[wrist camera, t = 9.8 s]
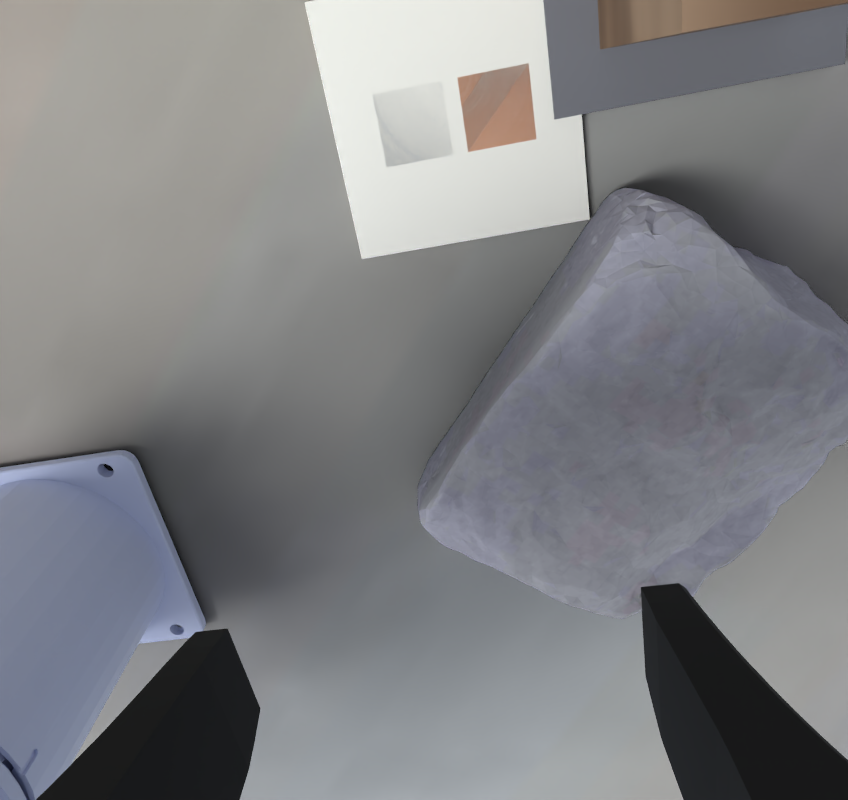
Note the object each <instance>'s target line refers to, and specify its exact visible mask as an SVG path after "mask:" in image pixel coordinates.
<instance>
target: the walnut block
mask: <svg viewBox="0 0 848 800" xmlns="http://www.w3.org/2000/svg"><path fill="white" fill-rule="evenodd" d="M843 4H848V0H598V19H599V40H600V49H606V48H611V47H617V46H622V45H628V44H633V43H639V42H644V41H649V40H655V39H660V38H666V37H671V36H677V35H682V34H688V33H693V32H698V31H704V30H709V29H715V28H720V27H726V26H731V25H737V24H742V23H747V22H753V21H758V20H764V19H769V18H775V17H780V16H786V15H791V14H796V13H802V12H807V11H812V10H817V9H822V8H828V7H833V6H838V5H843Z"/></svg>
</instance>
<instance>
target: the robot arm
mask: <svg viewBox="0 0 848 800" xmlns="http://www.w3.org/2000/svg"><path fill="white" fill-rule="evenodd" d="M103 464H107V465H109V466H111V467H112V469H113V471H109V470H108V469H106V468H105V467H104V465H103ZM641 601H642V619H643V637H644V654H645V672H646V679H647V683H648V687H649V691H650V695H651V699H652V703H653V707H654V711H655V715H656V719H657V723H658V727H659V731H660V735H661V738H662V741H663V744H664V747H665V750H666V752H667V755H668V758H669V761H670V763H671V766H672V769H673V772H674V775H675V777H676V780H677V783H678V786H679V788H680V791H681V794H682V797H683V799H684V800H848V760H847V759H846V758H845V757H844V756H843V755H841V754H840V753H839V752H838V751H837V750H836V749H835V748H834V747H833V746H832V745H830V744H829V743H828V742H827V741H826V740H825V739H824V738H823V737H822V736H821V735H820V734H819V733H818V732H817V731H816V730H815V729H813V728H812V727H811V726H810V725H809V724H808V723H807V722H806V721H805V720H804V719H803V718H802V717H801V716H800V715H799V714H798V713H797V712H796V711H795V710H794V709H793V708H792V707H791V706H790V705H789V704H788V703H787V702H786V701H785V700H784V699H783V698H782V697H781V696H780V695H779V694H778V693H777V692H776V691H775V690H774V689H773V688H772V687H771V686H770V685H769V684H768V683H767V682H766V681H765V680H764V679H763V678H762V676H761V675H760V674H759V673H758V672H757V671H756V670H755V669H754V668H753V667H752V666H751V665H750V664H749V663H748V662H747V661H746V660H745V658H744V657H743V656H742V655H741V654H740V653H739V652H738V651H737V650H736V648H735V647H734V646H733V645H732V644H731V643H730V642H729V640H728V639H727V638H726V637H725V636H724V635H723V634H722V632H721V631H720V630H719V629H718V628H717V627H716V625H715V624H714V623H713V622H712V621H711V619H710V618H709V617H708V616H707V615H706V613H705V612H704V611H703V610H702V608H701V607H700V606H699V605H698V603H697V602H696V601H695V600H694V598H693V597H692V596H691V594H690V593H689V592H688V590H687V589H686V588H685V587H684V586H682V585H681V584H679V583H675V584H665V585H655V586H645V587H641ZM175 624H176V625H180V626H182V627H178V626H176V625H175ZM205 625H206V621H205V618H204V616H203V613H202V611H201V608H200V606H199V604H198V601H197V599H196V597H195V594H194V592H193V589H192V587H191V585H190V582H189V580H188V578H187V575H186V573H185V570H184V568H183V566H182V563H181V561H180V559H179V556H178V554H177V551H176V549H175V547H174V544H173V542H172V540H171V537H170V535H169V532H168V530H167V528H166V525H165V523H164V521H163V518H162V516H161V513H160V511H159V509H158V506H157V504H156V502H155V499H154V497H153V494H152V492H151V490H150V487H149V485H148V483H147V480H146V478H145V475H144V473H143V471H142V468H141V466H140V464H139V461H138V460H137V458H136V457H135V456H134V455H133V454H132V453H130V452H128V451H125V450H116V451H110V452H103V453H96V454H89V455H82V456H76V457H69V458H62V459H55V460H49V461H42V462H35V463H28V464H21V465H15V466H8V467H1V468H0V800H239V799H240V796H241V793H242V790H243V787H244V783H245V780H246V777H247V773H248V770H249V766H250V761H251V756H252V751H253V746H254V741H255V736H256V730H257V724H258V719H259V713H260V707H259V704H258V702H257V699H256V697H255V695H254V692H253V690H252V687H251V685H250V682H249V680H248V677H247V675H246V673H245V670H244V668H243V665H242V663H241V660H240V658H239V655H238V653H237V651H236V648H235V646H234V643H233V641H232V638H231V636H230V633H229V631H228V629H219V630H210V631H203V630H204V628H205ZM184 638H189V639H188V640H187V641H186V642H185V643H184V645H183V646H182V647H181V648H180V649H179V650H178V651H177V652H176V653H175V654H174V655H173V656H172V657H171V659H170V660H169V661H168V662H167V663H166V664H165V665H164V666H163V667H162V669H161V670H160V671H159V672H158V673H157V674H156V675H155V676H154V677H153V678H152V680H151V681H150V682H149V683H148V684H147V685H146V686H145V687H144V688H143V690H142V691H141V692H140V693H139V694H138V695H137V696H136V697H135V698H134V699H133V700H132V701H131V703H130V704H129V705H128V706H127V707H126V708H125V709H124V710H123V711H122V712H121V713H120V714H119V716H118V717H117V718H116V719H115V720H114V721H113V722H112V723H111V724H110V725H109V726H108V727H107V729H106V730H105V731H104V732H103V733H102V734H101V735H100V736H99V737H98V738H97V739H96V740H95V741H94V742H93V743H92V744H91V745H90V746H89V747H88V748H87V749H86V750H85V751H84V752H83V753H82V754H81V755H80V756H79V757H78V758H77V759H76V760H75V761H74V759H75V757H76V755H77V753H78V752H79V750H80V748H81V746H82V744H83V743H84V741H85V739H86V737H87V735H88V734H89V732H90V730H91V728H92V727H93V725H94V723H95V721H96V719H97V718H98V716H99V714H100V712H101V710H102V709H103V707H104V705H105V703H106V701H107V700H108V698H109V696H110V694H111V692H112V691H113V689H114V687H115V685H116V683H117V682H118V680H119V678H120V676H121V675H122V673H123V671H124V669H125V667H126V666H127V664H128V662H129V660H130V658H131V657H132V655H133V653H134V651H135V649H136V648H137V646H138V644H140V643H148V642H157V641H166V640H175V639H184ZM73 761H74V762H73ZM72 762H73V763H72Z"/></svg>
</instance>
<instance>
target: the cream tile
mask: <svg viewBox="0 0 848 800" xmlns="http://www.w3.org/2000/svg"><path fill="white" fill-rule="evenodd" d="M305 7H306V11H307V16H308V20H309V25H310V29H311V34H312V38H313V43H314V47H315V52H316V56H317V61H318V65H319V70H320V74H321V78H322V83H323V87H324V92H325V96H326V101H327V105H328V110H329V114H330V119H331V123H332V128H333V132H334V137H335V141H336V146H337V150H338V154H339V159H340V163H341V168H342V172H343V177H344V181H345V186H346V190H347V195H348V199H349V204H350V208H351V213H352V217H353V222H354V226H355V230H356V235H357V239H358V244H359V248H360V253H361V257H362V259H366V258H371V257H377V256H383V255H389V254H394V253H400V252H406V251H412V250H417V249H423V248H429V247H435V246H440V245H446V244H452V243H457V242H463V241H469V240H475V239H480V238H486V237H492V236H498V235H503V234H509V233H515V232H521V231H526V230H532V229H538V228H544V227H549V226H555V225H561V224H567V223H572V222H578V221H584V220H589V219H590V216H589V203H588V190H587V177H586V164H585V151H584V138H583V124H582V114H581V115H576V116H571V117H566V118H560V119H554V111H553V100H552V89H551V79H550V68H549V57H548V46H547V35H546V25H545V14H544V3H543V0H314V1H309V2H305Z"/></svg>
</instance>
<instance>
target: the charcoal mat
mask: <svg viewBox="0 0 848 800" xmlns="http://www.w3.org/2000/svg"><path fill="white" fill-rule="evenodd" d="M543 3H544V14H545V25H546V35H547V46H548V57H549V68H550V79H551V89H552V100H553V111H554V119H560V118H566V117H571V116H576V115H581V114H586V113H592V112H597V111H602V110H607V109H612V108H618V107H623V106H628V105H633V104H638V103H644V102H649V101H654V100H659V99H664V98H670V97H675V96H680V95H685V94H691V93H696V92H701V91H706V90H711V89H717V88H722V87H727V86H732V85H737V84H743V83H748V82H753V81H758V80H763V79H769V78H774V77H779V76H784V75H789V74H795V73H800V72H805V71H810V70H815V69H821V68H826V67H831V66H836V65H842V64H845V55H846V42H847V29H848V4H843V5H838V6H833V7H828V8H822V9H817V10H812V11H807V12H802V13H796V14H791V15H786V16H780V17H775V18H769V19H764V20H758V21H753V22H747V23H742V24H737V25H731V26H726V27H720V28H715V29H709V30H704V31H698V32H693V33H688V34H682V35H677V36H671V37H666V38H660V39H655V40H649V41H644V42H639V43H633V44H628V45H622V46H617V47H611V48H606V49H600V40H599V19H598V0H543Z"/></svg>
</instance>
